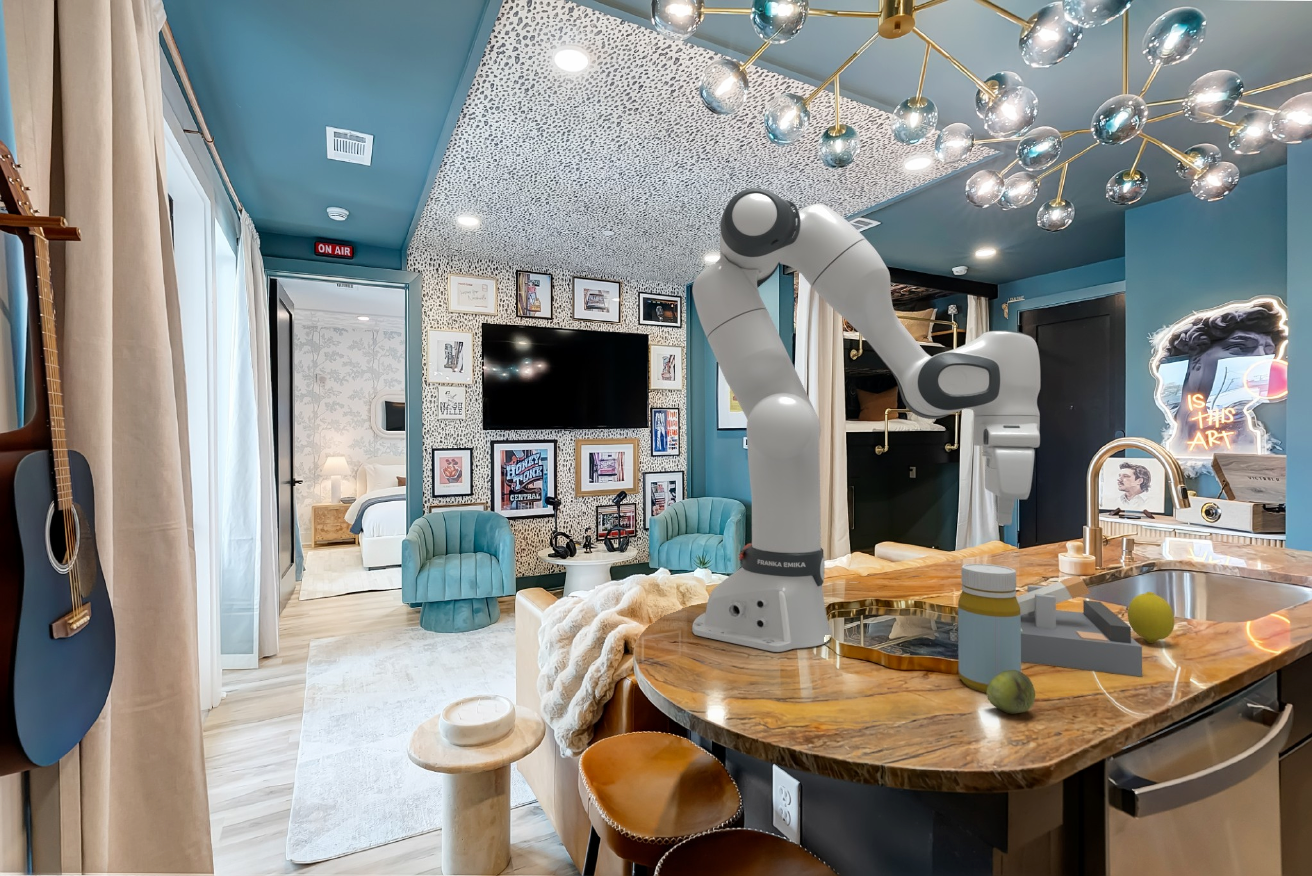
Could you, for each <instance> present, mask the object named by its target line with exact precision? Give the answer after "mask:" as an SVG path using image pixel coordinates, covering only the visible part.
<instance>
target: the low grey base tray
mask: <svg viewBox="0 0 1312 876" xmlns="http://www.w3.org/2000/svg"><path fill="white" fill-rule="evenodd" d="M1043 587H1046V586H1043V585H1030V584H1029V585H1028V584H1027V593H1028V592H1031V591H1034V590H1037V589H1040V588H1043ZM1082 602H1083V608H1082V609H1083V612H1082V611H1069V610H1060V609H1057V606H1056V605H1057V604H1056V597H1055V596H1054V595H1042V594H1035V611H1032V612H1029V613H1026V614H1023V615H1021V663H1028V662H1029V664H1038V665H1044V664H1046V665H1047V666H1052V665H1055V667H1060V668H1061V667H1062V668H1068V667H1069V668H1070V669H1075V670H1076V669H1077V670H1085V671H1094V672H1101V673H1109V674H1116V675H1118V674H1119V675H1123V676H1124V675H1126V676H1133V677H1143V646H1142V645H1141V644H1140V643H1139V642H1137V641H1136V640H1135V639H1134V638H1133V637H1132V628H1131V626H1130V624H1129V623H1126V622H1125V621H1124V620H1123V619H1122V618H1120V616H1118V615H1117V614H1116V613H1115V612H1113V611H1112V610H1111V609H1110V608H1108V606H1106V605H1105V604H1104V603H1102V602H1101V601H1094V600H1085V599H1083V601H1082ZM1069 668H1068V669H1069Z"/></svg>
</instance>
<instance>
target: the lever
mask: <svg viewBox="0 0 1312 876" xmlns="http://www.w3.org/2000/svg"><path fill="white" fill-rule="evenodd" d="M1090 593H1091V592H1090V590H1089V588H1088V586H1087V585H1086V583H1085V581H1084V580H1083V579H1082V578H1081V577H1079V576H1078V575H1073V576H1071V577H1068V578H1066V579H1063V580H1060V581H1057V582H1055V583H1052V584H1049V585H1046V586H1045V587H1043V588H1040V589H1037V590H1034V591H1031V592H1028V591H1027V592H1026V593H1023V594H1022V593H1021V594H1020V595H1016V599H1017V601H1018V604H1019V606H1020V613H1021V615H1023V614H1026V613H1029V612H1032V611H1035V594H1042V595H1054V596H1055V597H1056V605H1057V604H1059V603H1063V602H1066V601H1068V600H1071V599H1072V600H1073V599H1077V598H1079V597H1082V596H1085V595H1088V594H1090Z"/></svg>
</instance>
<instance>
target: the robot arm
mask: <svg viewBox="0 0 1312 876" xmlns="http://www.w3.org/2000/svg"><path fill="white" fill-rule="evenodd" d="M792 207H793V208H792ZM793 209H794V210H793ZM794 211H795V212H794ZM719 225H720V228H719V229H720V234H719V235H720V237H719V256H720V257H719V259H718V260H717V261H716V262H715V263H713V264H711V265H708V266H707V267H706V268H704V269H703V270H702V271H700V273H699V274H698V275H697V276H696V278H695V280H694V281H693V283H692V297H693V301H694V305H695V309H696V313H697V316H698V320H699V322H700V325H701V328H702V329H703V333H704V334H705V336H706V339H707V342H708V344H709V346H710V348H711V351H712V353H713V355H714V357H715V360H716V361H717V364H718V366H719V368H720V370H721V372H722V374H723V376H724V377H723V378H724V380H725V382H726V383H727V384H728V386H729V388H730V390H731V392H732V394H733V395H734V397H735V399H736V401H737V402H738V404H739V406H740V408H741V410H742V412H743V414H744V416H745V417H746V420H747V421H746V443H747V445H746V447H747V460H748V472H749V473H748V475H749V483H750V485H749V486H750V493H751V543H747V544H746V545H744V547H743V549H742V550H740V553H738V556H739V557H738V561H739V562H740V565H741V567H740V568H738V570H736V571H735V572H734V573H732V574H731V575H729V576H728V577H726V578H725V579H724V580H723V581H721V582H720V583H719V584H718V585H716V586H715V587H714V588H713V589H712V590H711V592H710V593H709V596H708V599H707V602H706V610H705V612H703V613H701V614H700V615H699V616H697V617H696V618H695V620H694V621H693V622H692V627H691V629H692V633H693V634H694V635H695V636H698V637H702V638H707V639H708V638H709V639H712V640H718V641H722V642H727V643H732V644H736V645H740V646H745V647H750V648H755V649H760V650H764V651H768V652H774V653H775V652H776V653H780V652H785V651H789V650H792V649H793V650H794V649H801V648H812V647H817V646H821V645H824V644H826V643H825V642H824V637H825V635H832V631H831V629H830V624H829V621H828V616H827V611H826V605H825V597H824V589H823V584H824V581H825V569H826V568H825V566H826V565H825V556H824V549H823V547H822V545H821V544H822V543H821V541H822V540H821V538H822V535H821V533H822V531H821V527H822V526H821V520H822V519H821V518H822V516H821V512H822V511H821V473H820V469H821V466H820V438H821V431H822V429H821V422H820V420H819V419H820V418H819V416H818V415H817V412H816V409H815V407H814V406H813V404H812V401H811V400H810V398H809V395H808V394H807V391H806V389H805V387H804V385H803V383H802V381H801V379H800V376H799V375H798V373H797V372H798V371H796V368H795V367H794V364H793V362H792V359H791V358H790V356H789V355H790V354H788V352H787V349H786V347H785V345H784V343H783V341H782V339H781V337H780V335H779V332H778V330H777V328H776V326H775V324H774V321H773V320H772V317H771V315H770V313H769V311H768V309H767V307H766V305H765V302H764V301H763V299H762V297H761V295H760V291H759V288H760V287H761V286H762V285H763V284H764V283H766V282H767V281H768V280H769V279H770V278H772V276H773V275H774V274H775V273H776V271H777V270H778V268H779V266H780V265H785V266H787V267H790V268H792V269H794V270H795V271H797V272H798V273H799V274H801V275H802V276H803V278H804V279H805V281H806V282H808V284H809V285H810V287H812V289H814V290H815V292H816V293H817V294H818V296H819V297H821V298H822V300H824V301H825V302H826V303H827V304H828V305H829V306H830V307H831V308H832V309H833V310H834V311H836V313H838V314H839V316H841V318H843V319H844V320H845V321H847V323H849V324H850V326H852V327H853V329H855V330H856V331H857V332H858V333H859V334H860V336H861V337H862V338H864V340H865V341H866V342H867V344H868V345H869V346H870V347H871V349H872V350H873V351H874V352H875V353H876V355H877V356H878V357H879V358H880V360H882V362H883V363H884V365H886V367H887V368H888V369H889V370H890V372H891V374H892V375H893V377H894V378H895V380H896V383H897V386H898V390H899V393H900V396H901V399H902V402H903V403H904V405H905V407H906V408H907V409H908V410H909V411H910V412H911V413H912V414H914V415H916V416H918V417H920V418H922V419H928V420H938V419H941V418H945V417H947V416H950V415H951V414H955V413H957V412H961V411H964V410H971V411H973V414H974V415H973V446H981V450H982V452H981V456H982V457H985V461H984V462H985V463H984V465H985V466H984V489H985V490H986V491H988V492H990V493H992V494H993V495H994V505H995V521H996V522H997V523H998V524H999V525H1002V526H1011V525H1012V524H1013V512H1014V509H1015V502H1016V500H1028V498H1029V496H1030V493H1031V489H1032V482H1033V474H1034V473H1033V472H1034V464H1035V449H1034V448H1039V447H1040V446H1041V445H1040V444H1041V434H1040V429H1041V428H1040V426H1041V425H1040V424H1041V423H1040V419H1041V418H1040V417H1041V415H1040V410H1039V406H1038V396H1039V393H1040V390H1041V361H1040V360H1041V359H1040V353H1039V348H1038V345H1037V342H1036V341H1035V339H1034V338H1033V337H1032V336H1031V335H1028V334H1026V333H1023V332H1020V331H1016V330H1005V329H1003V330H988V331H986V332H983V333H982V334H981V335H979V336H978V337H977V338H975V339H973V340H972V341H969V342H967V343H966V344H963V345H961V346H959V347H956V348H953V349H950V350H946V351H945V352H940V353H937V354H934V355H933V356H931V355H930V354H929V353H927V352H926V351H925V350H924V349H923V348H922V346H920V344H919V343H918V342H917V340H916V339H915V338H914V336H912V334H911V333H910V332H909V331H908V330H907V329H908V328H906V327H905V326H904V324H903V323H902V322H901V320H900V319H899V318H898V316H897V314H896V312H895V309H894V306H893V300H892V294H891V275H890V271H889V269H888V267H887V266H886V264H885V262H884V261H883V258H882V257H881V255H880V254H879V253H878V250H876V249H875V247H874V246H873V245H872V244H871V243H870V242H869V240H867V238H866V237H865V236H864V235H863V234H862V233H861V232H860V231H859V230H858V229H857V228H856V227H854V225H852V224H851V223H850V221H849V222H848V220H847V219H846V218H845V217H843V216H842V215H841V214H839V213H838V212H836V211H835V210H833V208H831V207H829V206H828V205H825V204H823V203H815V204H811V205H808V206H805V207H804V208H802V209H800V210H799V209H798V207H797V206H796V204H795V203H794V202H793V201H790V200H788V199H784V198H782V197H780V196H779V195H778V194H776V193H774V192H772V191H769V190H767V189H764V188H759V187H750V188H747V189H746V188H745V189H744V190H741V191H739V192H738V193H736V194H735V195H734V196H733V197H732V198H731V199H730V200H729V201H728V203H727V205H726V206H725V208H724V210H723V213H722V216H721V219H720V224H719ZM832 636H833V635H832Z"/></svg>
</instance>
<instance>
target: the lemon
mask: <svg viewBox="0 0 1312 876" xmlns="http://www.w3.org/2000/svg"><path fill="white" fill-rule="evenodd" d="M1173 612H1174V611H1173V610H1172V607H1171V606H1170V604H1169V602H1167V601H1166V600H1165V599H1164V598H1163V597H1162V596H1159V595H1157V594H1155V593H1154V592H1152V591H1147V592H1145V593H1141V594H1138V595H1136V596H1135V597H1133V598H1132V599H1131V601H1130V602H1129V605H1128V610H1127V621H1128V625H1129V626H1130V627H1131V630H1132V631H1134V633H1135V634H1136V635H1138V636H1139V637H1141V638H1143V639H1144V640H1146V642H1147V643H1149V644H1154V643H1155V642H1157V641H1160V640H1161V641H1162V640H1164V639H1167V638H1168V637H1169V636H1170V635H1171V634H1172V632H1173V630H1174V628H1175V616H1174V613H1173Z"/></svg>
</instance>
